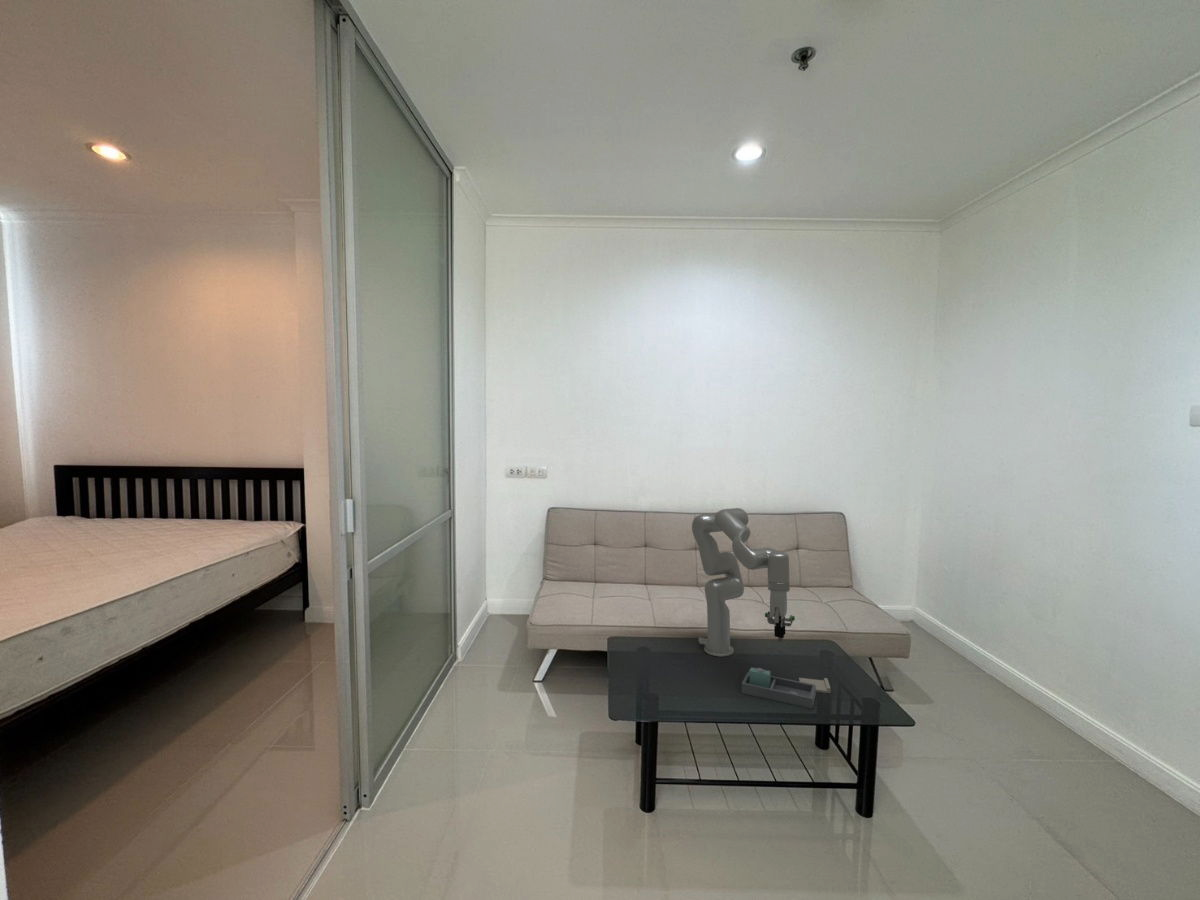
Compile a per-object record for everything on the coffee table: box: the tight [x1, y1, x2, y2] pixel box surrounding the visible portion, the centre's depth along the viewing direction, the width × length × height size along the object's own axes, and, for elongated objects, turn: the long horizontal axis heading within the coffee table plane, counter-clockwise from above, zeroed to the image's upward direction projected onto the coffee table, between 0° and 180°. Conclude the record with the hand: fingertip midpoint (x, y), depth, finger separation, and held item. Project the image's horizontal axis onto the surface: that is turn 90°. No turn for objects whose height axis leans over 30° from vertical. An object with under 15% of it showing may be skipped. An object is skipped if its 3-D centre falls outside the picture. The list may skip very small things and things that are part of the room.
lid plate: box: [798, 677, 832, 694], centre depth 188 cm, size 10×8×2 cm
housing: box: [741, 667, 817, 710], centre depth 183 cm, size 24×11×8 cm, turn 62°
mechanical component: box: [764, 610, 796, 643], centre depth 186 cm, size 3×10×10 cm, turn 62°
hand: (780, 635), depth 186 cm, fingers closed on mechanical component, 2 cm apart
